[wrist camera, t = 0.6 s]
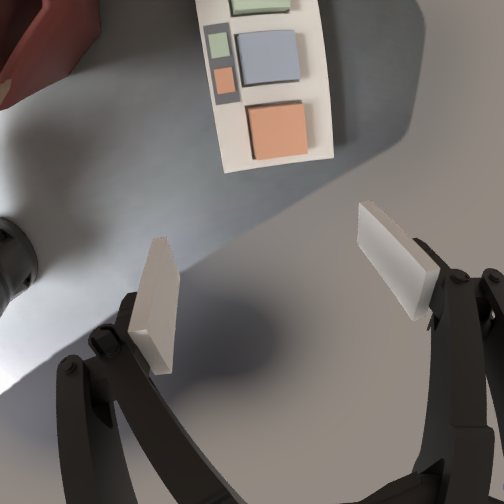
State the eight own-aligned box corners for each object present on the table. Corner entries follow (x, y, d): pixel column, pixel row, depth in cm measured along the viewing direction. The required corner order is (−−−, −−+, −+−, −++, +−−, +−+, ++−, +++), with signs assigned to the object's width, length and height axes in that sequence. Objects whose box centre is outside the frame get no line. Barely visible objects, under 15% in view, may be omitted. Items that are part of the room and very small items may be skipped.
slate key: (244, 84, 30) (246, 84, 28) (237, 37, 27) (238, 33, 25) (295, 79, 30) (300, 79, 28) (288, 33, 27) (294, 30, 25)
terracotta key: (254, 155, 35) (257, 160, 33) (247, 108, 32) (250, 109, 29) (302, 149, 35) (308, 153, 33) (297, 102, 32) (303, 104, 30)
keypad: (223, 164, 39) (224, 174, 35) (192, -20, 24) (190, -33, 20) (322, 150, 39) (335, 158, 35) (300, -28, 24) (310, -39, 20)
